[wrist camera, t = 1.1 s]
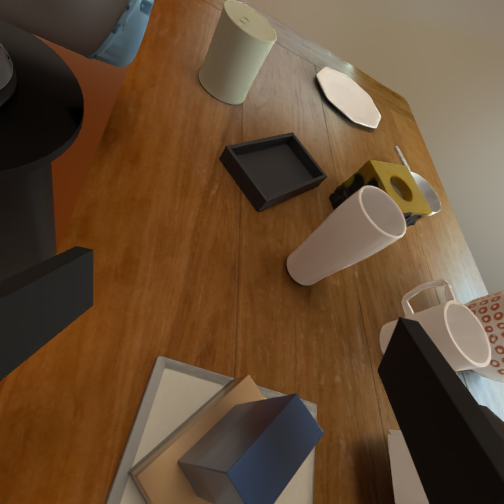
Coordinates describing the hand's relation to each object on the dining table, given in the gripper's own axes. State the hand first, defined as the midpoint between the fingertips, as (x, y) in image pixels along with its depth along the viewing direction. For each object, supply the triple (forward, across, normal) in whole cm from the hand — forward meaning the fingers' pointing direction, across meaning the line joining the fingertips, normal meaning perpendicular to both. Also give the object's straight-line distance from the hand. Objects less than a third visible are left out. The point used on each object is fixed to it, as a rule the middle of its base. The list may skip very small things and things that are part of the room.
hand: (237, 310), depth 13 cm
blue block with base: (+8, -1, -19) cm, 20 cm away
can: (+50, -14, +14) cm, 54 cm away
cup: (+30, +22, -17) cm, 42 cm away
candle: (+45, +15, -4) cm, 48 cm away
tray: (+41, -1, +2) cm, 41 cm away
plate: (+78, +12, +20) cm, 81 cm away
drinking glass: (+29, +6, -9) cm, 31 cm away
